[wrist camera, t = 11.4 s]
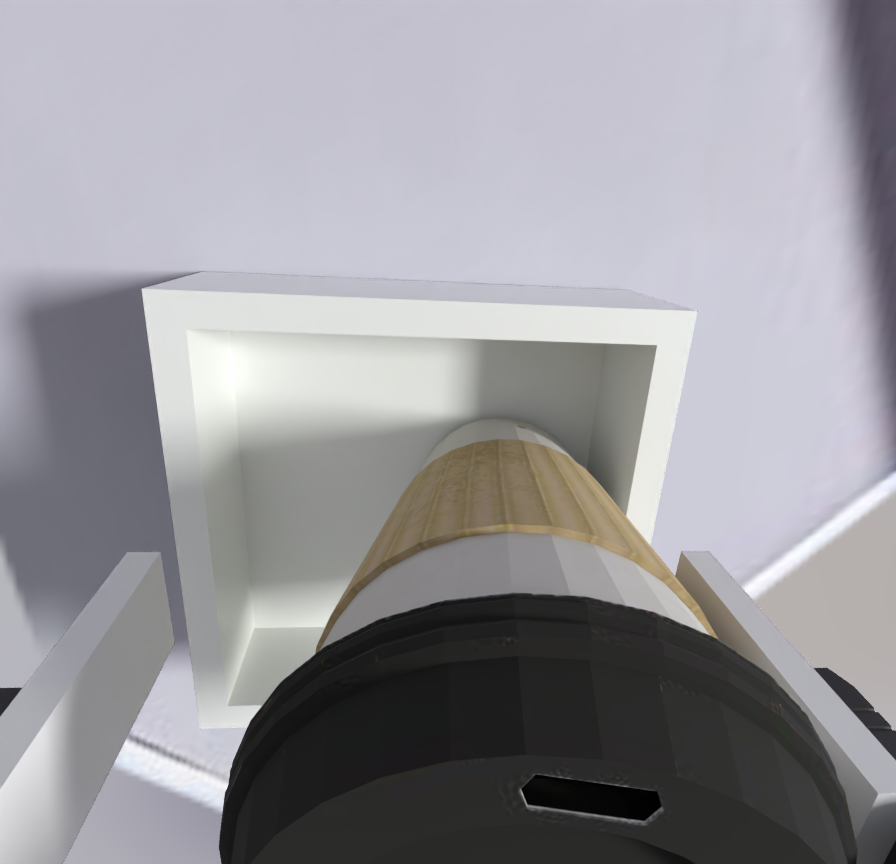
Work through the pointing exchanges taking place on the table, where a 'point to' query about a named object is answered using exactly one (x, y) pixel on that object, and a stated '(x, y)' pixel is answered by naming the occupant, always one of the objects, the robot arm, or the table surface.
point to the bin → (370, 431)
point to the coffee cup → (526, 697)
